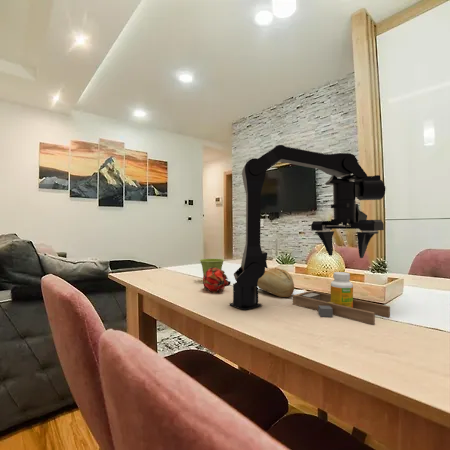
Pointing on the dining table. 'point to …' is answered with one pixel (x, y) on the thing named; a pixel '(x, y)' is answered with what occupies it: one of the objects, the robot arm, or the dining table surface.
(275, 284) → the bread roll
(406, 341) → the dining table surface
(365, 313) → the walnut beam
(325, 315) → the gray block
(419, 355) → the dining table surface
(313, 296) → the steel counterweight
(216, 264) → the plant pot
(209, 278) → the dragon fruit
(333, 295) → the supplement bottle
